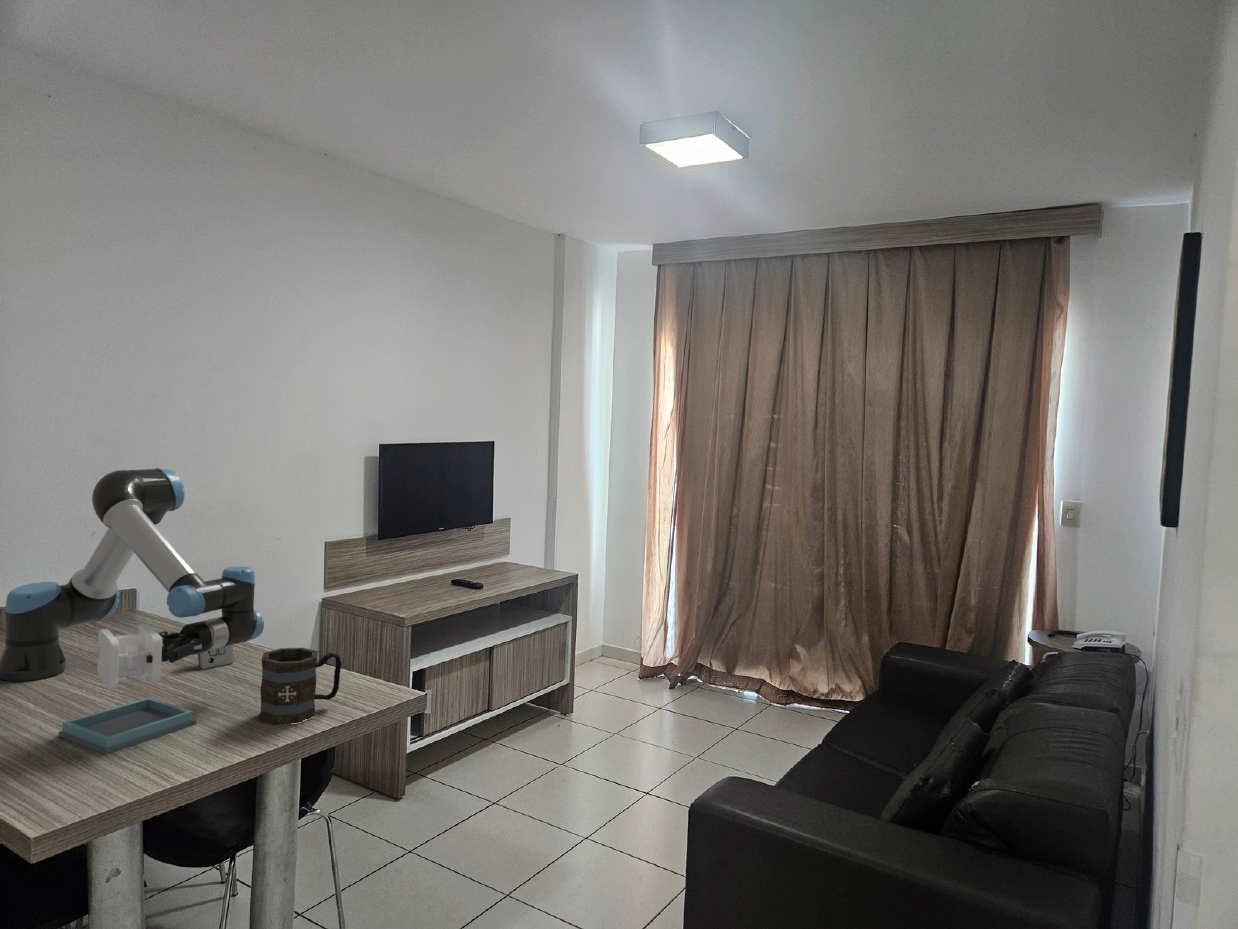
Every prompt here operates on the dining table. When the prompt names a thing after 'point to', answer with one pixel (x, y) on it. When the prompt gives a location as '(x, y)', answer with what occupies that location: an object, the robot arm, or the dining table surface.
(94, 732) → the teal tray
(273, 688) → the mug
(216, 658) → the electrical switch
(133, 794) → the dining table surface
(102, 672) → the white spool piece
